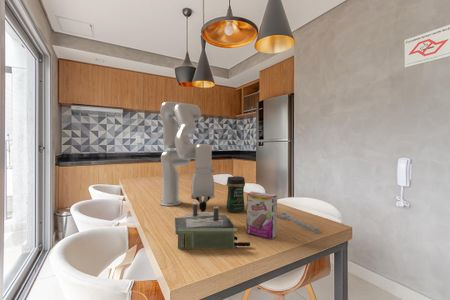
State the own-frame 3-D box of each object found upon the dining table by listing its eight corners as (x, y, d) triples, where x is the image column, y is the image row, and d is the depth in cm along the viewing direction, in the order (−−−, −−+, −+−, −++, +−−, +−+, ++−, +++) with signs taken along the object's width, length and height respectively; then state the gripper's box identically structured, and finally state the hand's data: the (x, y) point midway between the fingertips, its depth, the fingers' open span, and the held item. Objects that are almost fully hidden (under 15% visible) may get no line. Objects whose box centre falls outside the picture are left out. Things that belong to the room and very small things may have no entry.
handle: (213, 220, 96) (213, 206, 96) (217, 220, 97) (217, 205, 97) (214, 222, 94) (214, 207, 94) (218, 222, 95) (218, 207, 95)
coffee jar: (229, 213, 115) (229, 177, 114) (224, 209, 122) (225, 175, 122) (246, 212, 118) (247, 177, 117) (241, 208, 125) (241, 175, 125)
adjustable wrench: (321, 234, 91) (322, 229, 91) (309, 236, 89) (309, 231, 89) (286, 215, 115) (286, 211, 115) (275, 216, 113) (275, 212, 113)
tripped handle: (192, 216, 102) (192, 202, 102) (197, 215, 103) (197, 202, 102) (193, 217, 100) (193, 203, 100) (197, 217, 101) (197, 203, 101)
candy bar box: (245, 234, 89) (246, 193, 89) (250, 230, 93) (251, 191, 93) (272, 240, 83) (273, 196, 83) (276, 235, 88) (277, 194, 87)
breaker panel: (174, 221, 103) (174, 213, 103) (225, 217, 108) (225, 210, 108) (175, 233, 88) (175, 225, 88) (233, 229, 94) (233, 220, 94)
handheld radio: (179, 245, 79) (249, 245, 79) (177, 250, 75) (250, 250, 76) (179, 227, 78) (249, 227, 79) (177, 231, 75) (251, 231, 76)
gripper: (217, 170, 107) (216, 207, 108) (186, 170, 104) (185, 209, 104) (220, 171, 100) (220, 212, 100) (187, 172, 96) (187, 214, 97)
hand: (202, 210), depth 102 cm, fingers closed
